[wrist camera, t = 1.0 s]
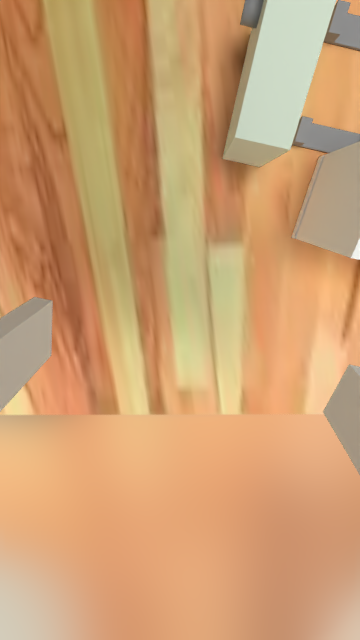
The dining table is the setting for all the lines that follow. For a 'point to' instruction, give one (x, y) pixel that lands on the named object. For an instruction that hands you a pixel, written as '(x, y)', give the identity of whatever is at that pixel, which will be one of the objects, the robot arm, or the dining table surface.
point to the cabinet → (333, 165)
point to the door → (275, 76)
